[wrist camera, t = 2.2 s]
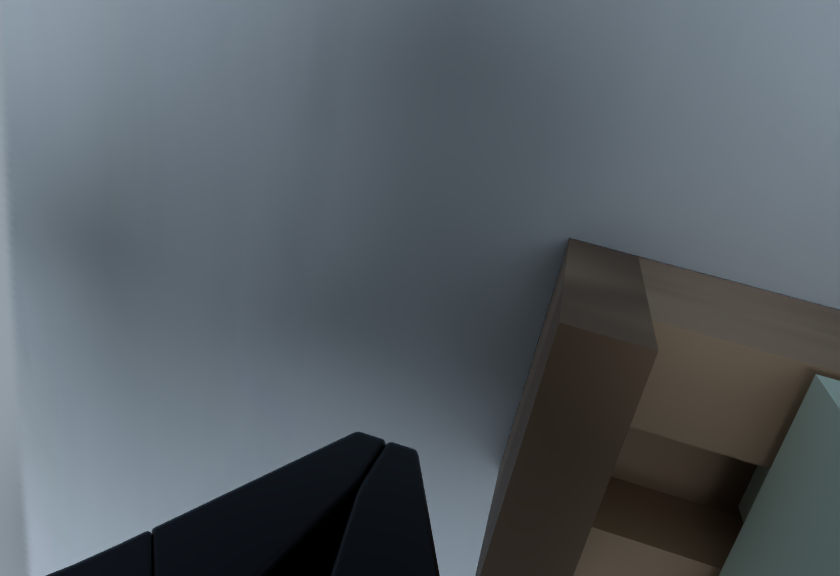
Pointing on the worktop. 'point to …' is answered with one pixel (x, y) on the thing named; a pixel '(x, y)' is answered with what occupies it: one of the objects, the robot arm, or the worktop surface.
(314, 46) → the worktop surface
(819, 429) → the block
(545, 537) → the rail
